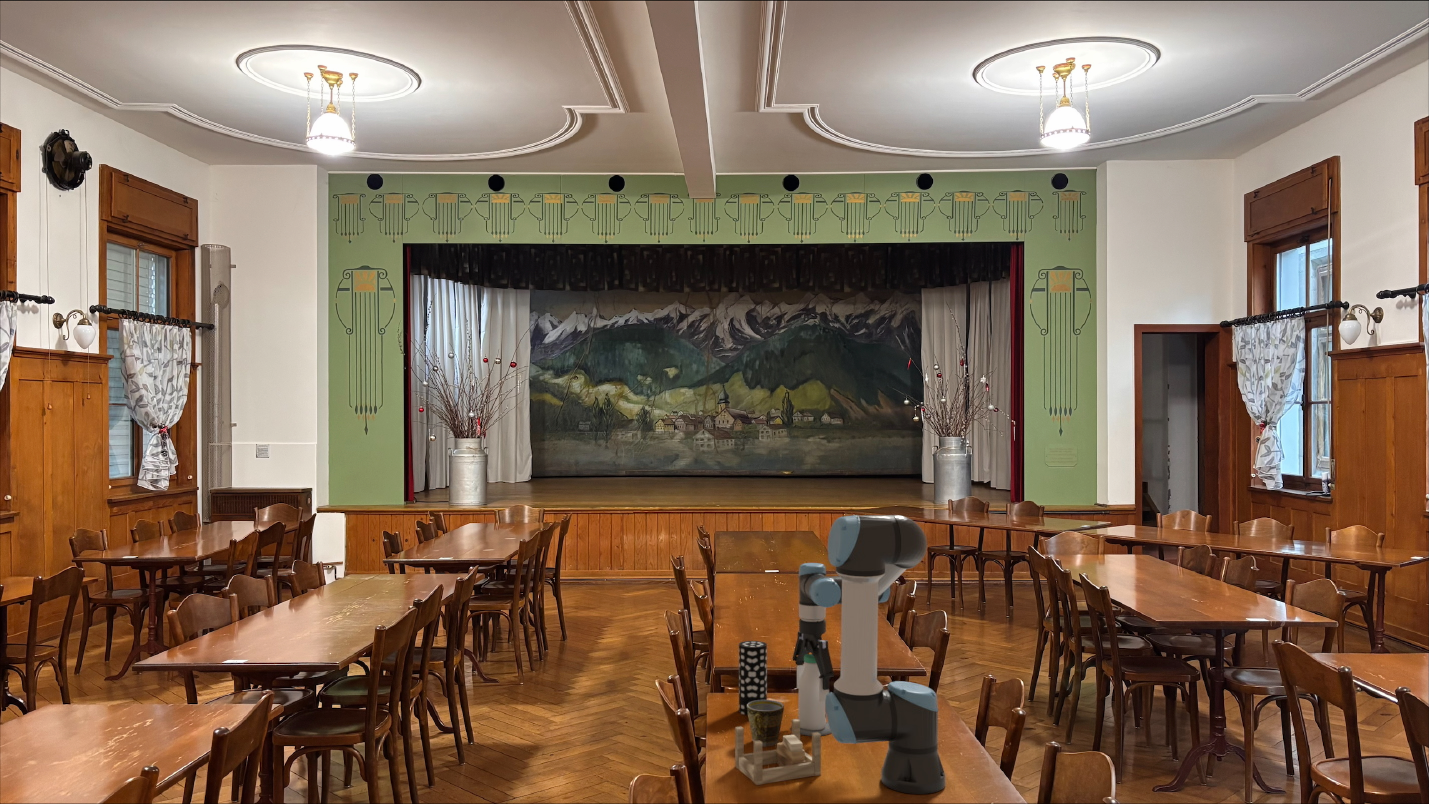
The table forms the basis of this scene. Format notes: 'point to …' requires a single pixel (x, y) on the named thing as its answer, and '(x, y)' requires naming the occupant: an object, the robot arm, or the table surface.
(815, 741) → the rack
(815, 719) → the milk bottle
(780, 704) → the ceramic cup
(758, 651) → the spotted tube
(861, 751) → the table surface
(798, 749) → the offcut stack
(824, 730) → the grey round disc
